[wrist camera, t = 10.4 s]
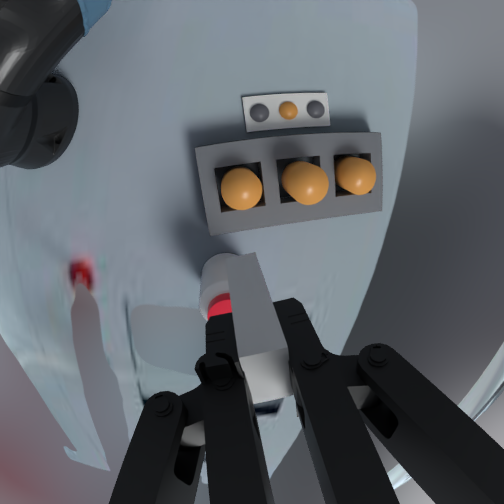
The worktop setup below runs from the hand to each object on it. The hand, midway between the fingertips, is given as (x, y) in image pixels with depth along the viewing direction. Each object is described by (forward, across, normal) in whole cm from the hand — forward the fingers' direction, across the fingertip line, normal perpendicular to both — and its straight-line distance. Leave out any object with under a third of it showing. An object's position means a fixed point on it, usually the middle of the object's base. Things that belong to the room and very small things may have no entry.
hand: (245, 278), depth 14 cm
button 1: (+25, +18, -2) cm, 31 cm away
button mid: (+24, +10, -1) cm, 26 cm away
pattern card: (+26, +10, +8) cm, 30 cm away
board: (+26, +10, -1) cm, 28 cm away
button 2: (+26, +2, -1) cm, 26 cm away
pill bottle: (+26, -2, -15) cm, 30 cm away
